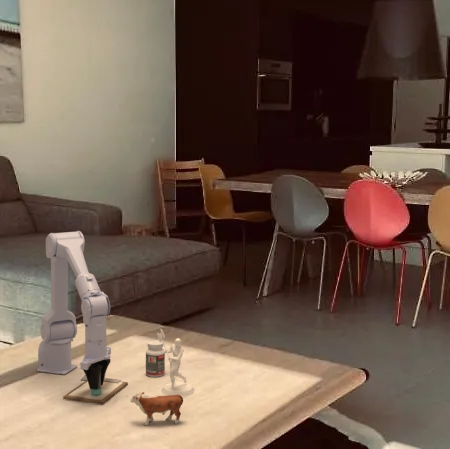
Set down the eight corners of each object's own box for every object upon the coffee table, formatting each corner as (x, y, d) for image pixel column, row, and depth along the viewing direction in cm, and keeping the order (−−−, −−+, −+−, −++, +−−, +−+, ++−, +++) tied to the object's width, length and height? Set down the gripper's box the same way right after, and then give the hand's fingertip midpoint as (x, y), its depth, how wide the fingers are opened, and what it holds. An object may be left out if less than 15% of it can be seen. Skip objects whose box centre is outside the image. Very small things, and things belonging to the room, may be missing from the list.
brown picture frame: (63, 399, 206) (63, 394, 206) (90, 380, 222) (90, 375, 221) (103, 404, 203) (103, 399, 203) (127, 384, 218) (127, 380, 218)
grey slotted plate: (80, 380, 221) (80, 379, 221) (87, 373, 227) (86, 372, 227) (94, 381, 221) (94, 380, 221) (99, 374, 226) (99, 373, 226)
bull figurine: (130, 419, 194) (130, 389, 193) (182, 418, 195) (183, 388, 194) (129, 426, 189) (129, 395, 188) (183, 425, 191) (183, 394, 189)
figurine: (154, 388, 216) (154, 327, 213) (182, 381, 221) (182, 322, 219) (172, 399, 208) (173, 335, 205) (201, 391, 214) (201, 330, 211)
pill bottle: (161, 378, 224) (161, 346, 223) (143, 376, 225) (143, 344, 224) (166, 371, 230) (167, 340, 228) (148, 370, 231) (149, 339, 229)
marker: (88, 395, 207) (88, 367, 205) (93, 391, 210) (92, 363, 208) (99, 396, 206) (99, 368, 205) (103, 392, 209) (103, 364, 208)
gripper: (97, 348, 197) (97, 397, 199) (120, 333, 211) (120, 379, 213) (72, 345, 200) (73, 394, 201) (97, 330, 213) (98, 376, 215)
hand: (96, 386), depth 207 cm, fingers closed on marker, 3 cm apart
